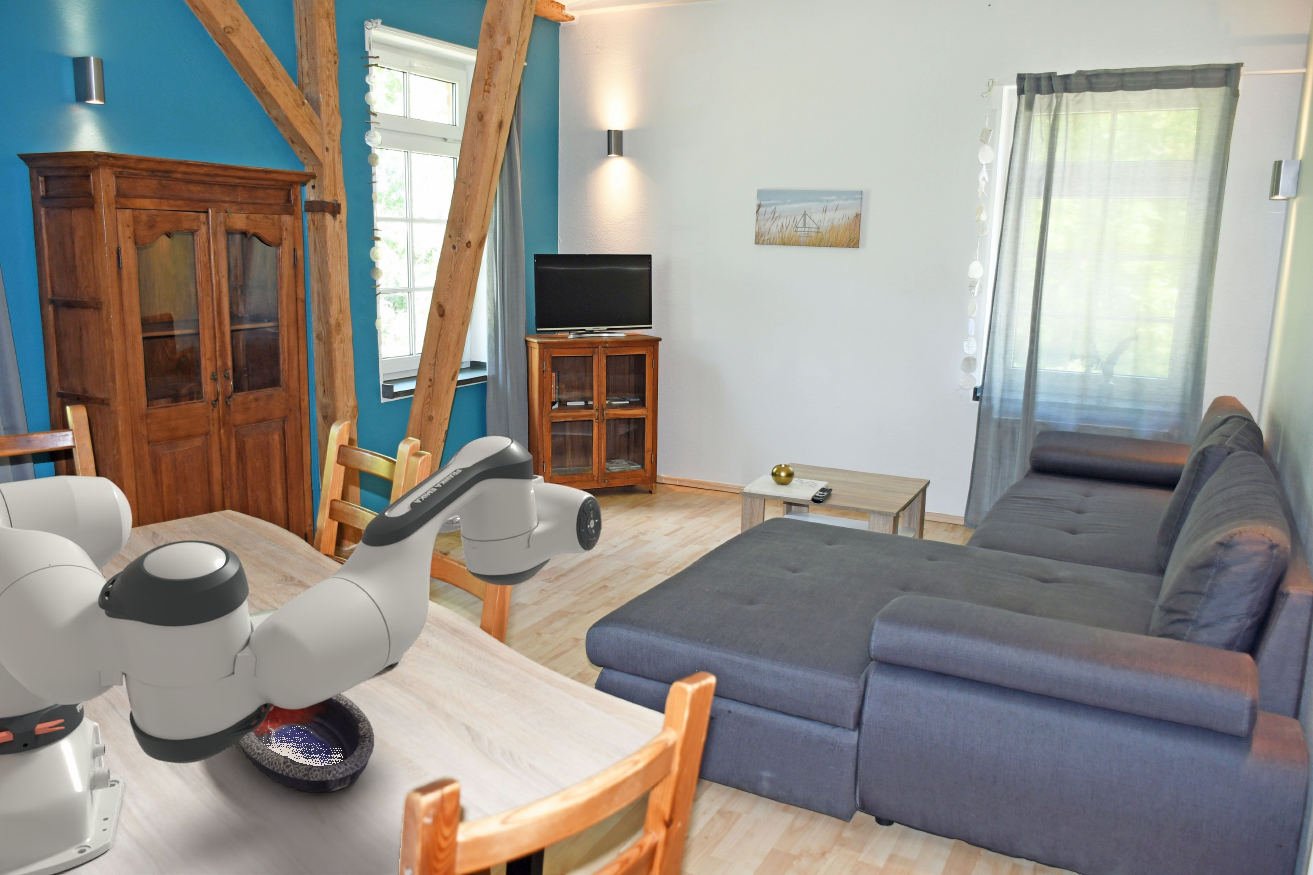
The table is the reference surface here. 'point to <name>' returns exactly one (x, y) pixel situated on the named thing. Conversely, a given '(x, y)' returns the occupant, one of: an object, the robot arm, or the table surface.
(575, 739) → the table surface
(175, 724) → the robot arm
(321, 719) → the dish
